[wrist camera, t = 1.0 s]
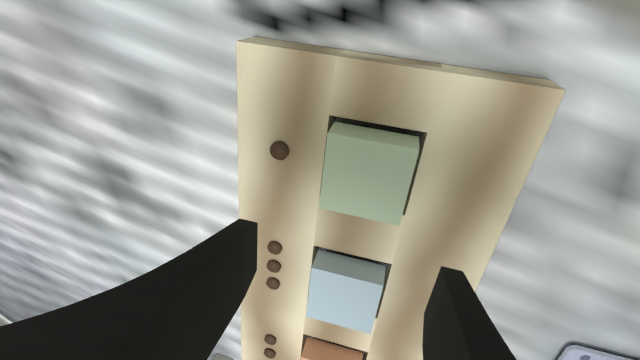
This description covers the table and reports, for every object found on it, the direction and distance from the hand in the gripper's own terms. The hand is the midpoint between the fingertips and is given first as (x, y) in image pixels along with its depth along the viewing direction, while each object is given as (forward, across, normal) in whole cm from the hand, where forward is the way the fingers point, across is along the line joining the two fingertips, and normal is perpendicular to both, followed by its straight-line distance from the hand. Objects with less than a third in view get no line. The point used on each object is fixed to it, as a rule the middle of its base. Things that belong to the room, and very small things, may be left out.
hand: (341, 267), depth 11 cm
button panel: (+9, 0, +8) cm, 12 cm away
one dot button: (+7, 0, 0) cm, 7 cm away
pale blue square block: (+8, 0, +8) cm, 11 cm away
